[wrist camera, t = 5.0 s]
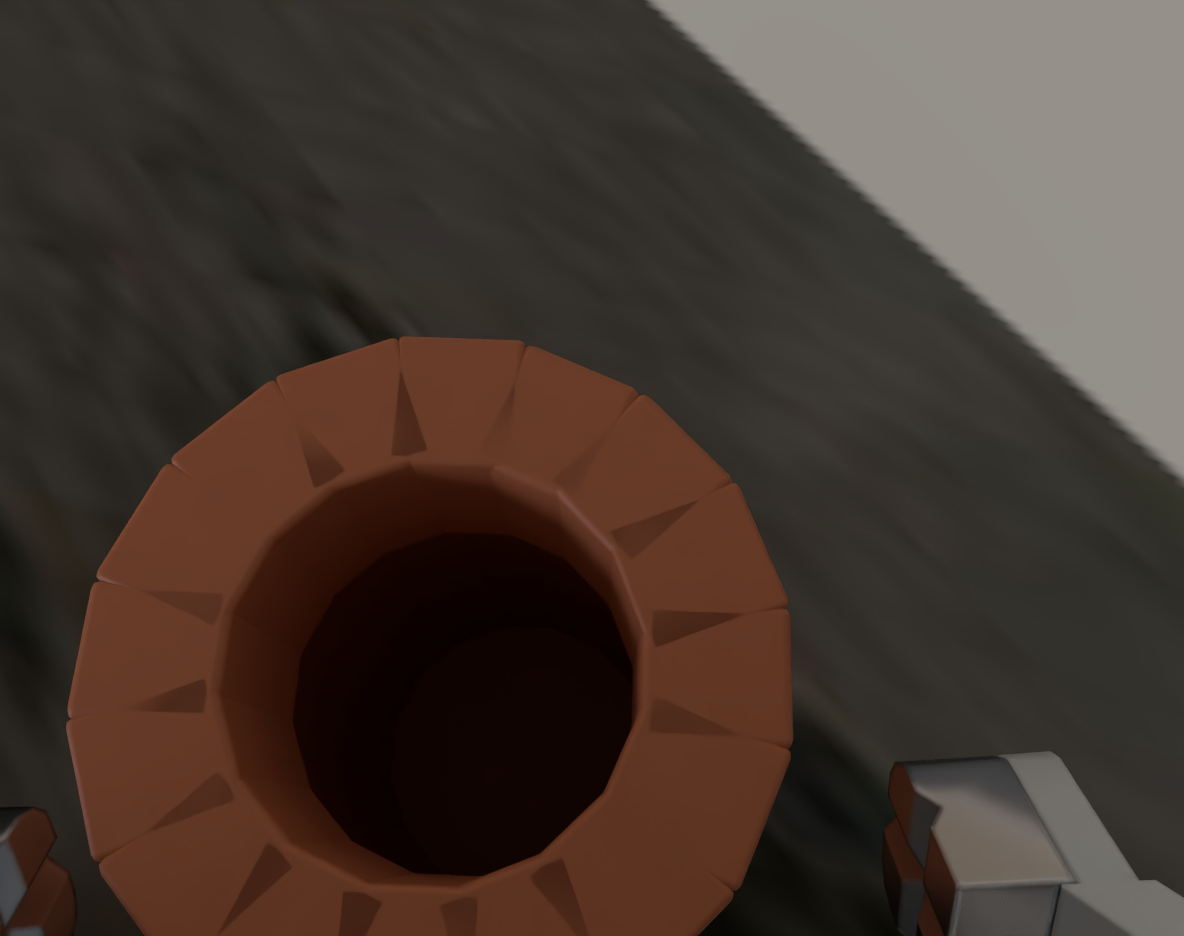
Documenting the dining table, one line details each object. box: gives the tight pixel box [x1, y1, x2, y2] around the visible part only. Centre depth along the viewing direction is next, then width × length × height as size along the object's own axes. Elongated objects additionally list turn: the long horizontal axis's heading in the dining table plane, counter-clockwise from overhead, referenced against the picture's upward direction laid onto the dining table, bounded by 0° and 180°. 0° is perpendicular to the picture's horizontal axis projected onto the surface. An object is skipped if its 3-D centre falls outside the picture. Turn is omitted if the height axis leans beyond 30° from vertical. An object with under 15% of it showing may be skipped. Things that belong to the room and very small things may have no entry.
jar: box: [66, 336, 793, 936], centre depth 12 cm, size 5×5×10 cm
